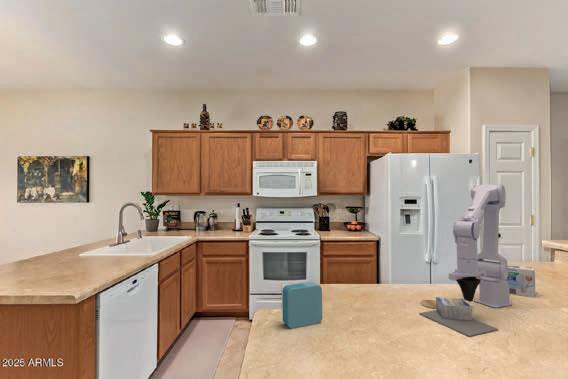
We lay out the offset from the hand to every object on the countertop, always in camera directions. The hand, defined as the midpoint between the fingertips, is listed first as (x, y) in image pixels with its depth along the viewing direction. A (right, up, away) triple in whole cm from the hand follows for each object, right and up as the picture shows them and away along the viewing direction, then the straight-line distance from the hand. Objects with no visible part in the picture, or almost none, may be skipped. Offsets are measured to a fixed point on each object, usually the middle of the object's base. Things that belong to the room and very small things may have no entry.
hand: (468, 300), depth 96 cm
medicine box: (+1, -3, +1) cm, 4 cm away
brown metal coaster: (-5, -6, +13) cm, 15 cm away
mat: (-5, -6, -2) cm, 8 cm away
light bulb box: (+36, -7, +25) cm, 45 cm away
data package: (-54, -7, -2) cm, 54 cm away
